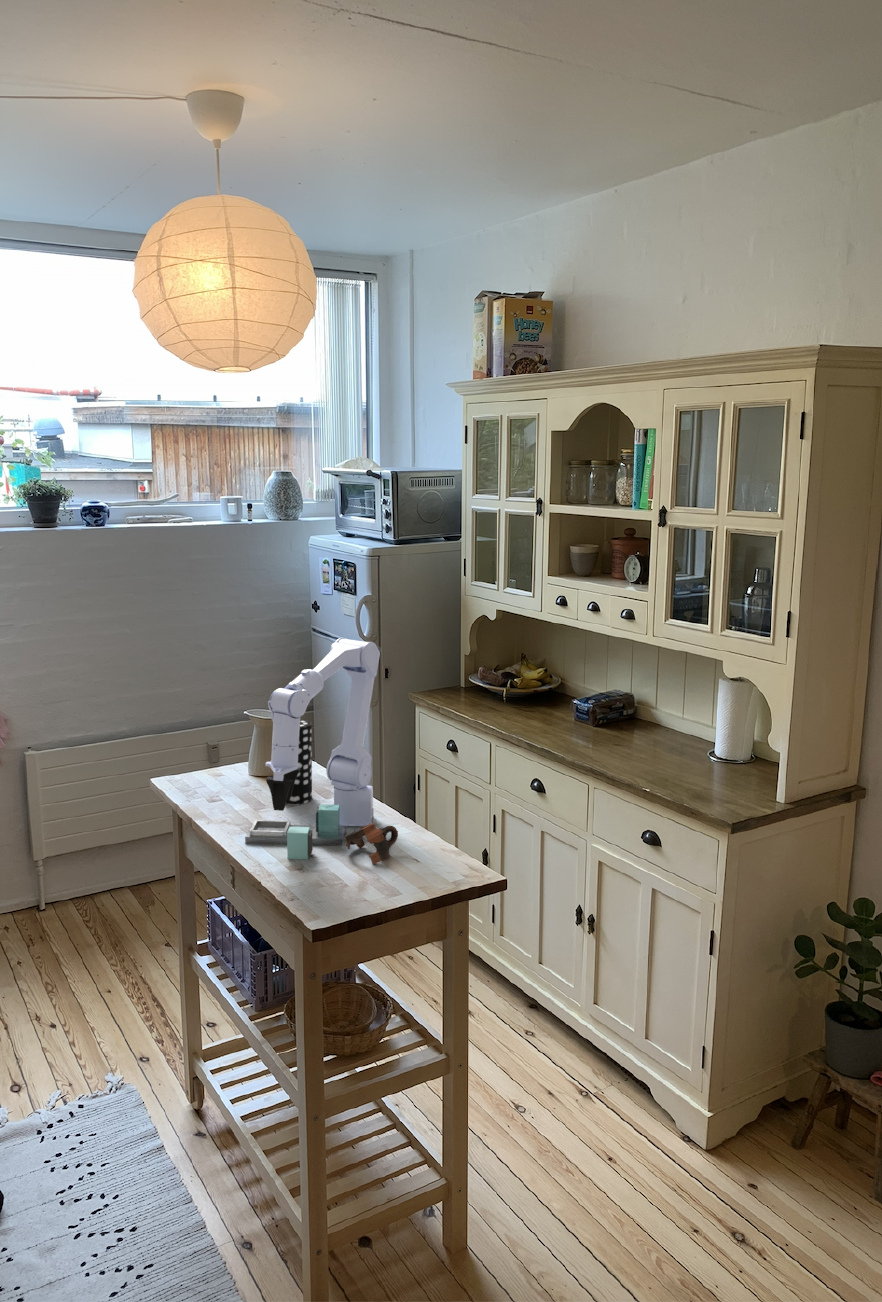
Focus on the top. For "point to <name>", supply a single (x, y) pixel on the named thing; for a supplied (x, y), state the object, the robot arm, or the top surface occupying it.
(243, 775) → the top surface
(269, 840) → the grey long flat piece
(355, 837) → the brown looped piece
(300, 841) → the pale aqua cube
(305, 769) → the white-spotted black cylinder
